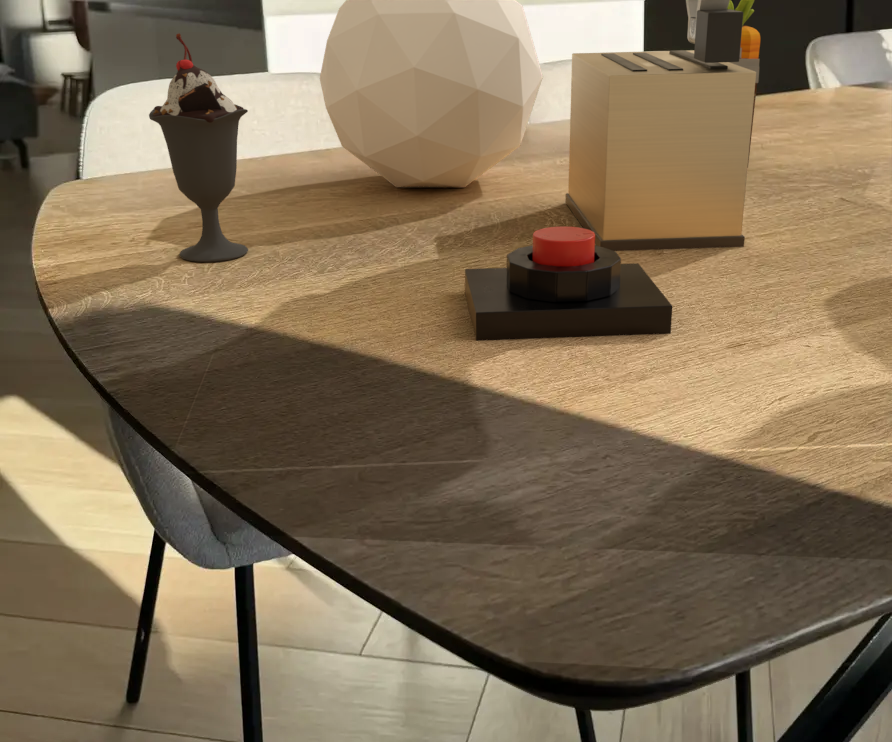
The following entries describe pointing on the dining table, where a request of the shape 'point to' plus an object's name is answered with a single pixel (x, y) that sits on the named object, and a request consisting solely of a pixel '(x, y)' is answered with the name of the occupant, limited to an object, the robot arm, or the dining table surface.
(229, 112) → the sundae
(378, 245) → the dining table surface
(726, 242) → the toaster
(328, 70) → the ball
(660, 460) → the dining table surface
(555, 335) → the block
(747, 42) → the carrot
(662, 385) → the dining table surface
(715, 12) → the block
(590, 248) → the button
